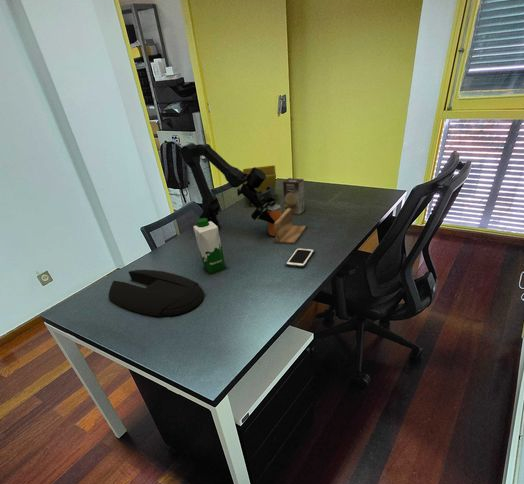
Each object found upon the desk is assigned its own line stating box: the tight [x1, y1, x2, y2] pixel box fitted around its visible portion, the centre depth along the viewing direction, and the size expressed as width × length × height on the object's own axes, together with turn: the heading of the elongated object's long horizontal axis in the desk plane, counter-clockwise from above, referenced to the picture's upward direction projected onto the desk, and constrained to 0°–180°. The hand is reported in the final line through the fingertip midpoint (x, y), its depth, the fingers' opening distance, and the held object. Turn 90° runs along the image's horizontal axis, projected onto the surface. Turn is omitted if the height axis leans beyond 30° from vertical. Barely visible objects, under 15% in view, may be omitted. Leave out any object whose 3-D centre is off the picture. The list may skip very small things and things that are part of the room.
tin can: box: [265, 204, 282, 237], centre depth 154 cm, size 7×7×13 cm
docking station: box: [108, 269, 205, 318], centre depth 125 cm, size 25×40×5 cm, turn 58°
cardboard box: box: [242, 164, 277, 207], centre depth 191 cm, size 19×19×17 cm
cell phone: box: [285, 247, 315, 268], centre depth 136 cm, size 8×15×1 cm, turn 156°
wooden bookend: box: [274, 208, 307, 245], centre depth 152 cm, size 9×18×9 cm, turn 157°
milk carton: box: [192, 218, 226, 275], centre depth 132 cm, size 9×9×20 cm
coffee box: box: [282, 177, 305, 215], centre depth 172 cm, size 9×6×16 cm
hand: (277, 220), depth 153 cm, fingers closed on tin can, 6 cm apart
